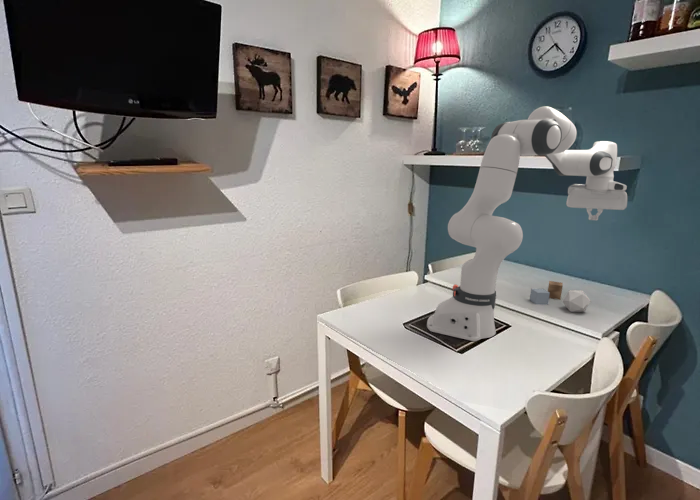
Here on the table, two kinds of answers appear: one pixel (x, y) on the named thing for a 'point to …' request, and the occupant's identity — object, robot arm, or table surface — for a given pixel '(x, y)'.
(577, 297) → the die
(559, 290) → the walnut block
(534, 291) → the slate block
